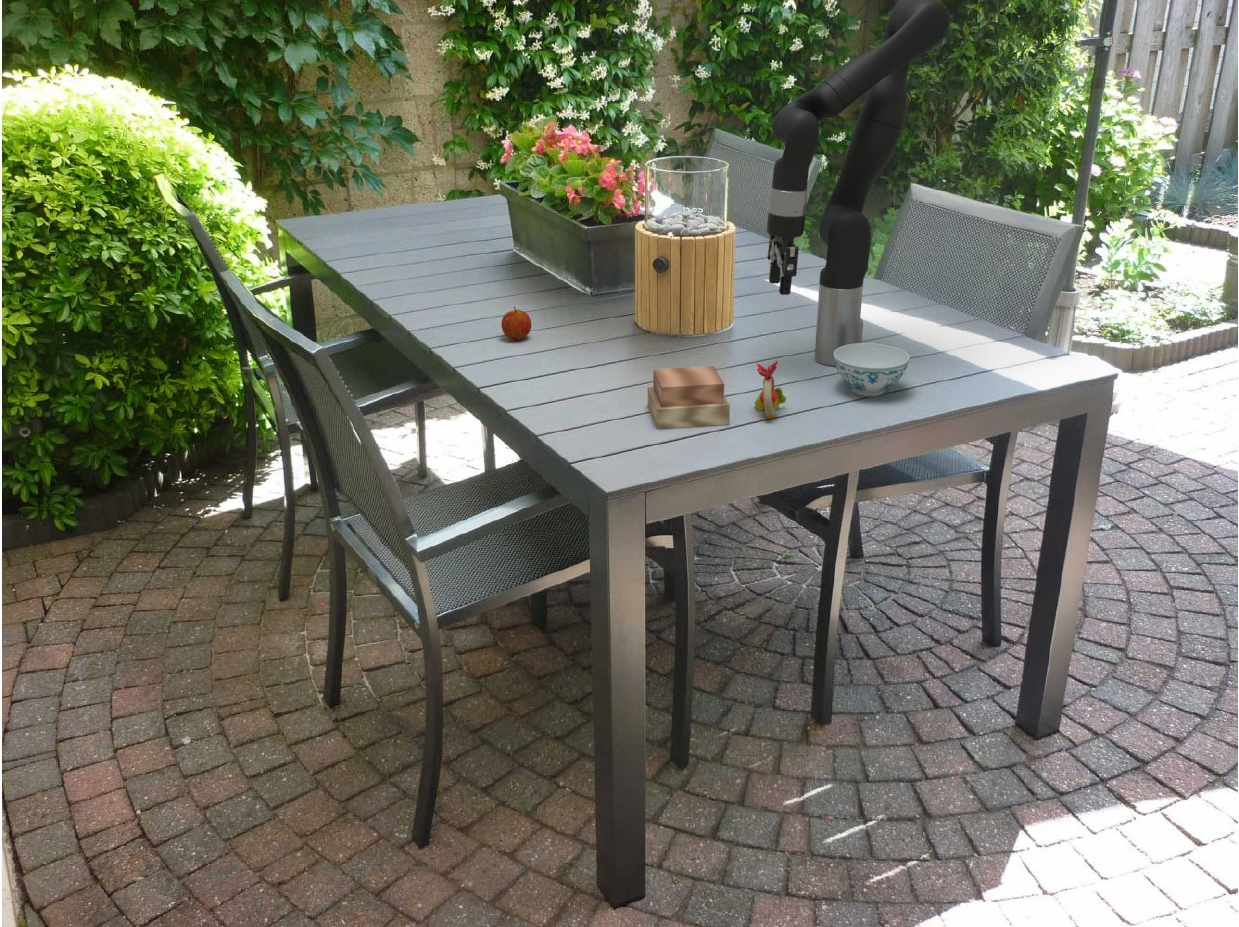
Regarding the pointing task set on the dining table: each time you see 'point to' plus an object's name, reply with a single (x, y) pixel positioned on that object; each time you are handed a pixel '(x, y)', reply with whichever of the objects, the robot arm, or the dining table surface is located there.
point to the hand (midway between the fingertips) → (779, 288)
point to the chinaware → (870, 366)
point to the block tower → (688, 398)
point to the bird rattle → (769, 392)
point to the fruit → (516, 324)
